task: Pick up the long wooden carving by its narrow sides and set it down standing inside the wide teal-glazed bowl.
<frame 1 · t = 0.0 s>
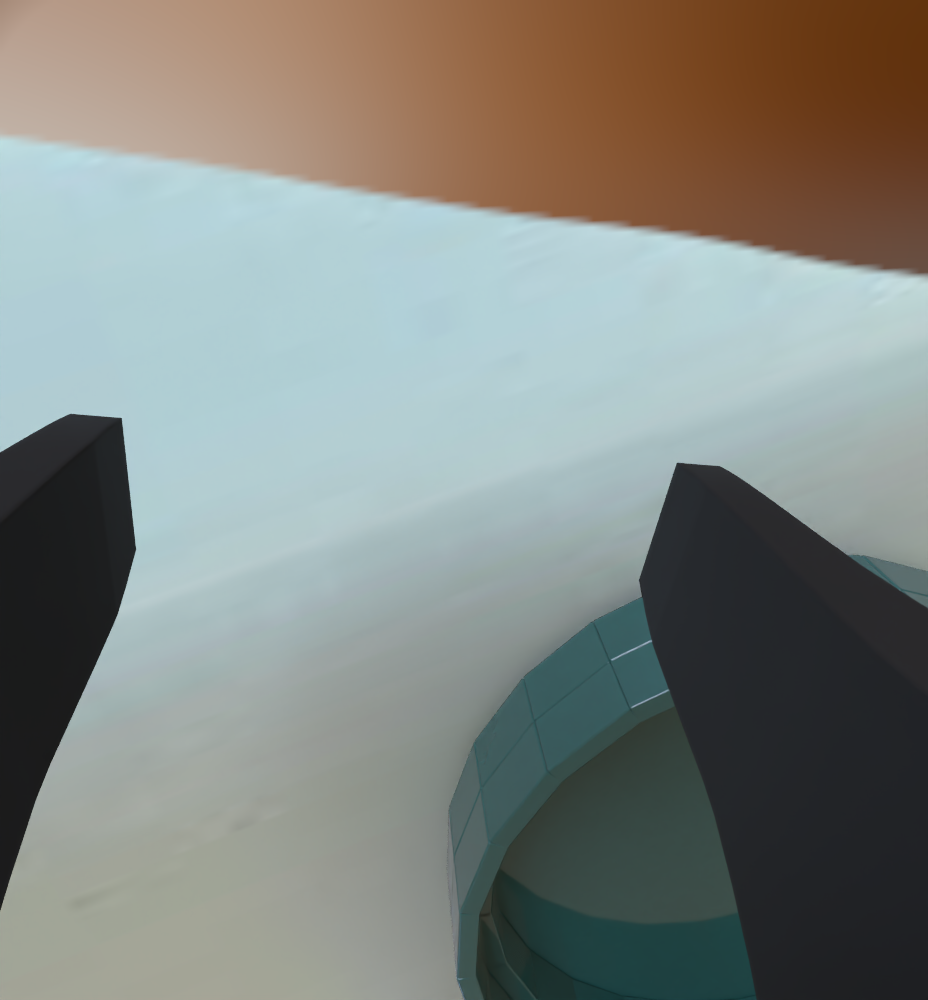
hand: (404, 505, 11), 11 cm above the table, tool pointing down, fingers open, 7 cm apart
teal bowl: (746, 812, 29), on the table
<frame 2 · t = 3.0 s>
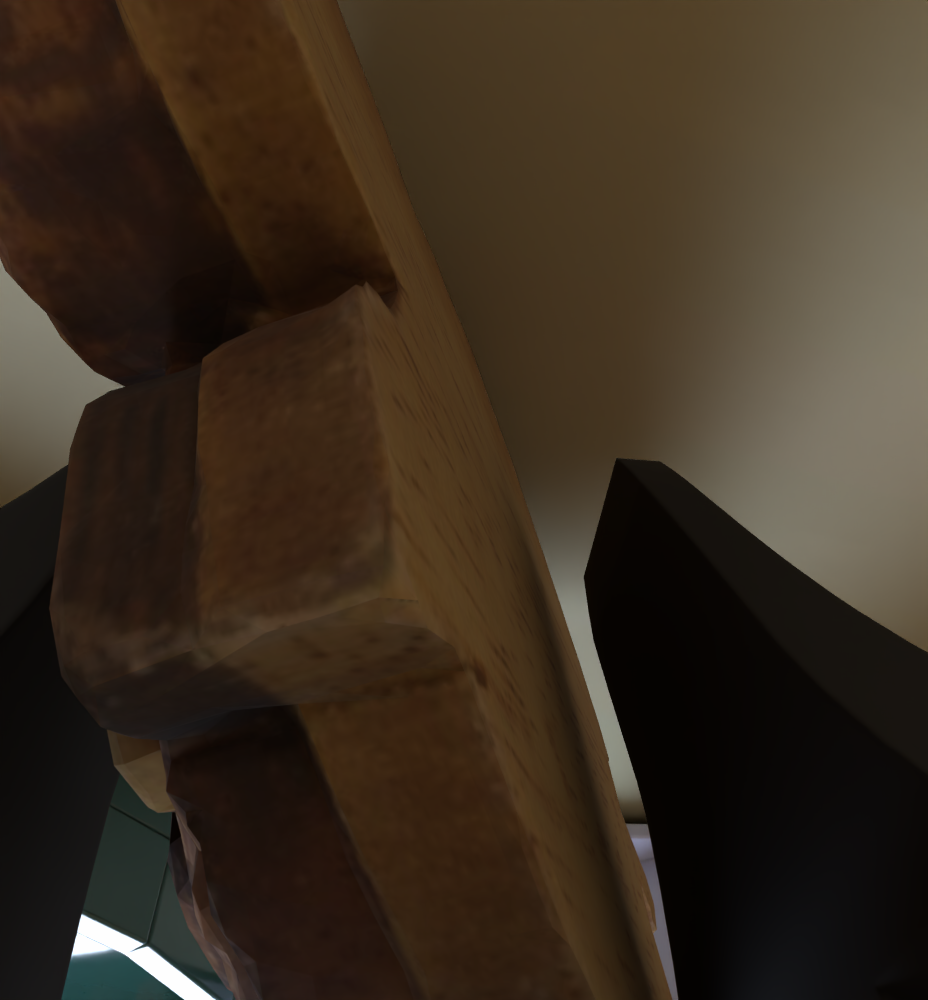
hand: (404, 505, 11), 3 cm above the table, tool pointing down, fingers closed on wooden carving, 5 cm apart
wooden carving: (432, 411, 14), on the table, touching gripper
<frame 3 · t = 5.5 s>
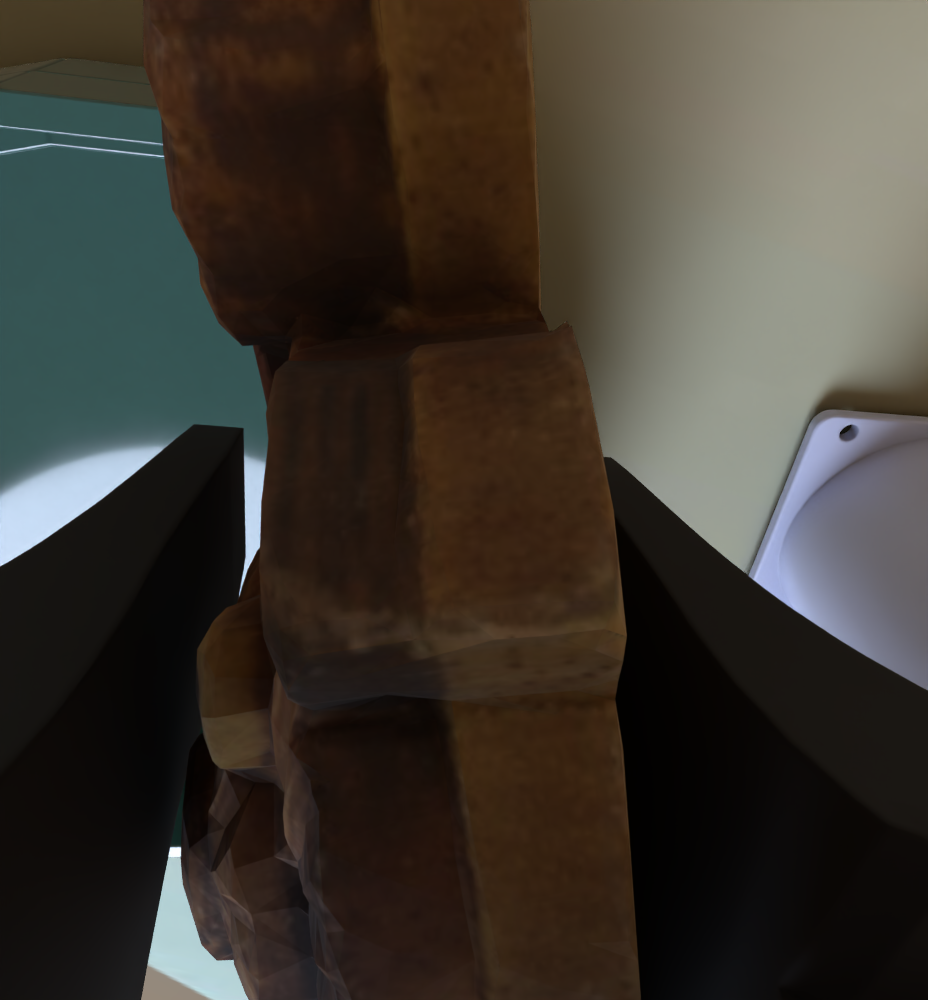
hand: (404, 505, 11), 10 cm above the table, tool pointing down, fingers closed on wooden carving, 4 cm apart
wooden carving: (450, 416, 14), point 7 cm above the table, touching gripper
teal bowl: (179, 485, 23), on the table
when the fingers open (4 cm above the table, at t = 8.2 s): wooden carving stays where it is, resting on teal bowl.
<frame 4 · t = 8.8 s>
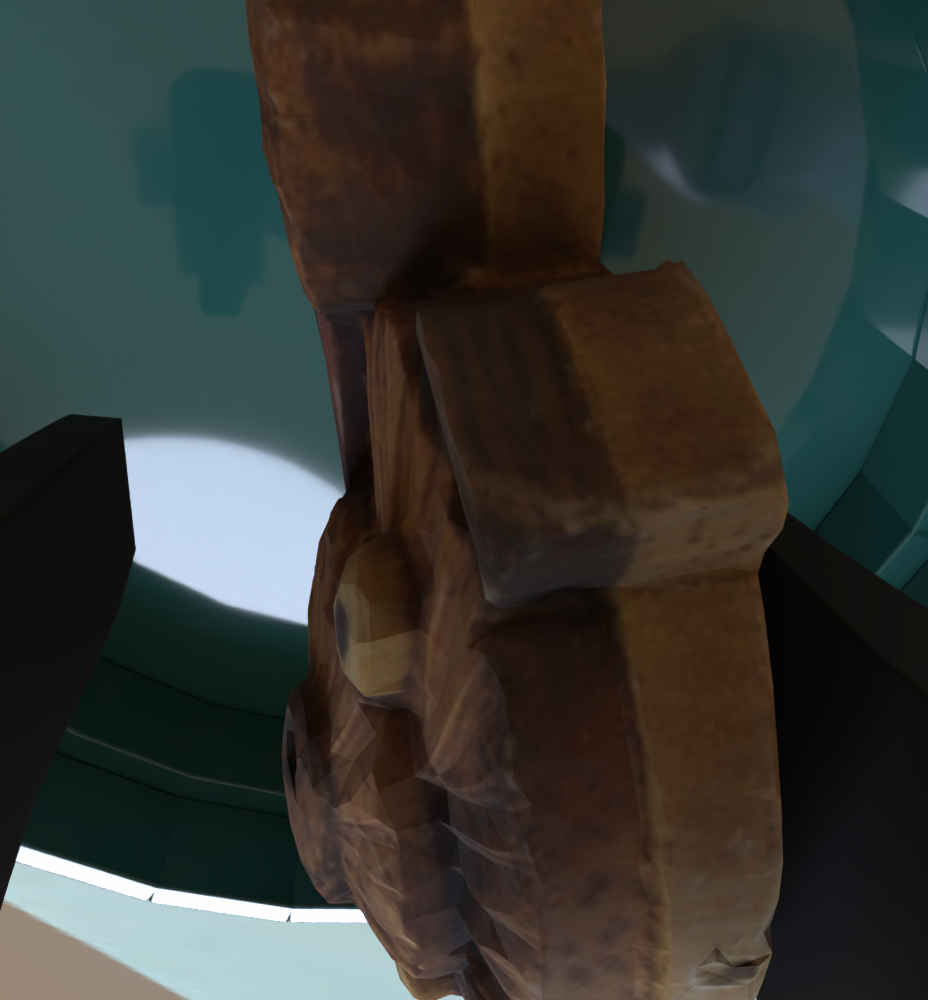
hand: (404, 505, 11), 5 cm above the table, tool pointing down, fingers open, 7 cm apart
wooden carving: (446, 394, 15), resting on teal bowl
teal bowl: (401, 360, 15), on the table
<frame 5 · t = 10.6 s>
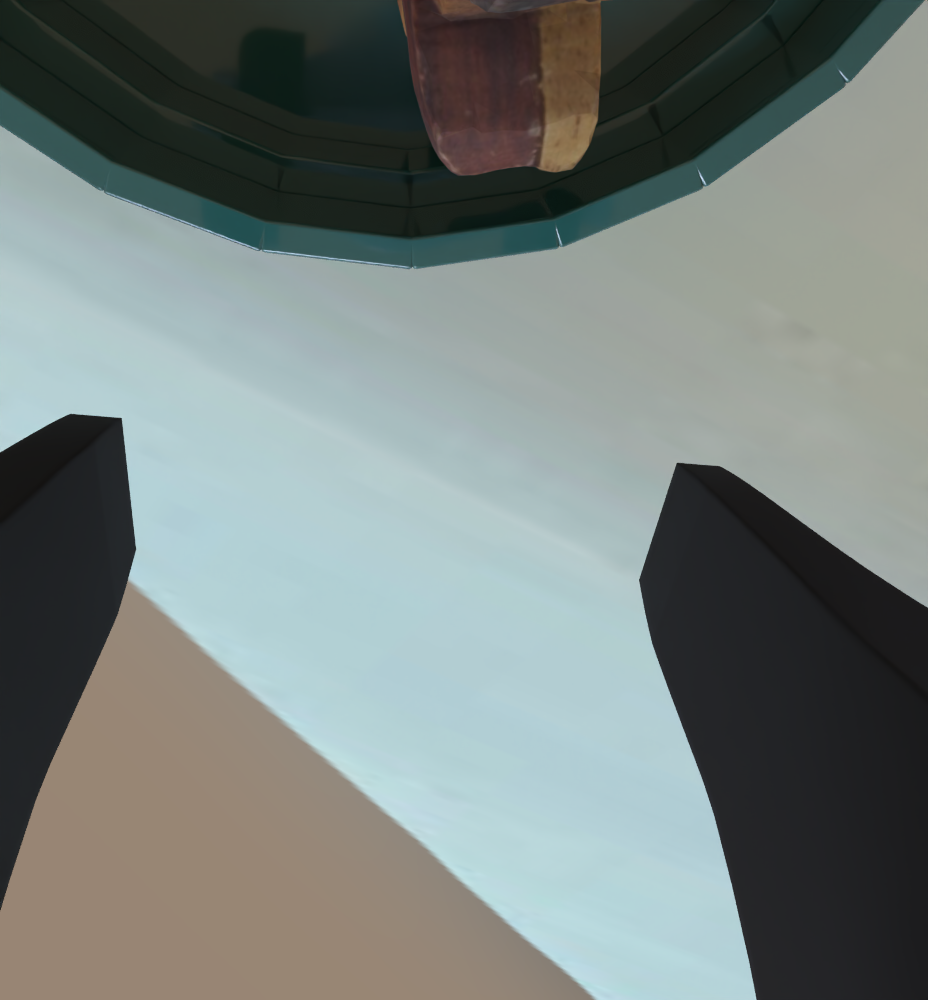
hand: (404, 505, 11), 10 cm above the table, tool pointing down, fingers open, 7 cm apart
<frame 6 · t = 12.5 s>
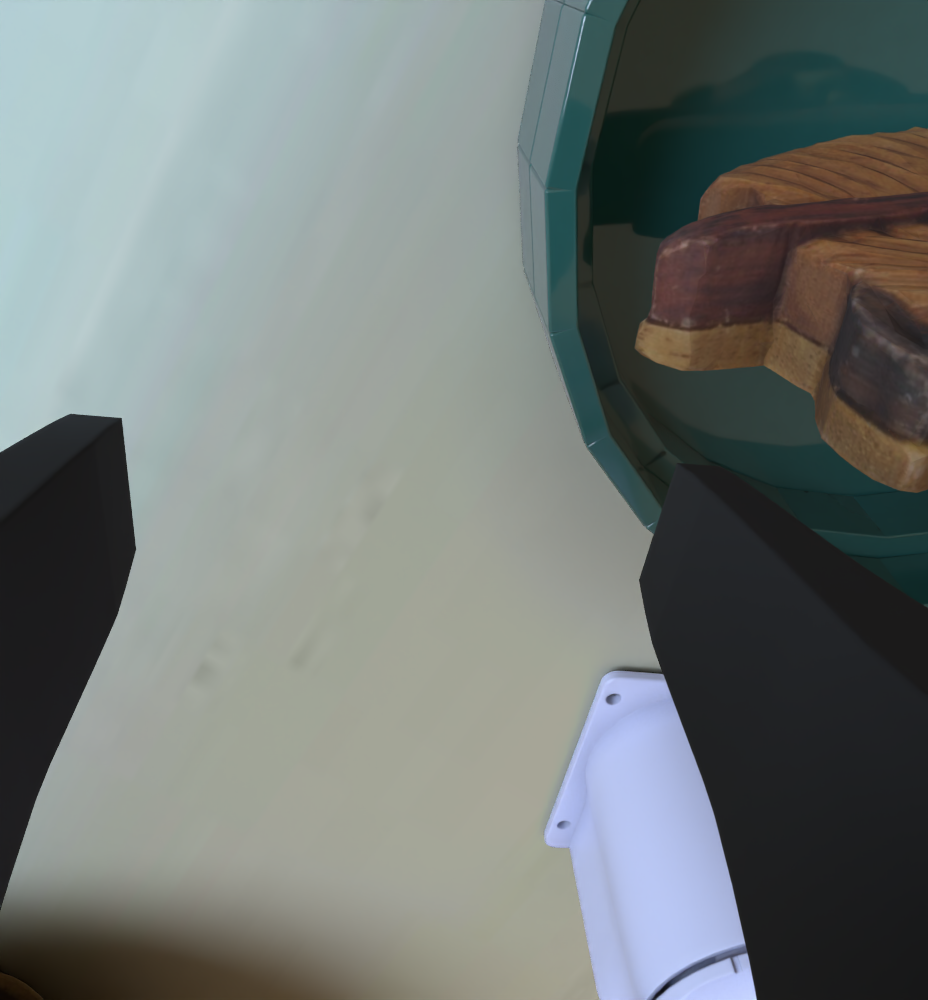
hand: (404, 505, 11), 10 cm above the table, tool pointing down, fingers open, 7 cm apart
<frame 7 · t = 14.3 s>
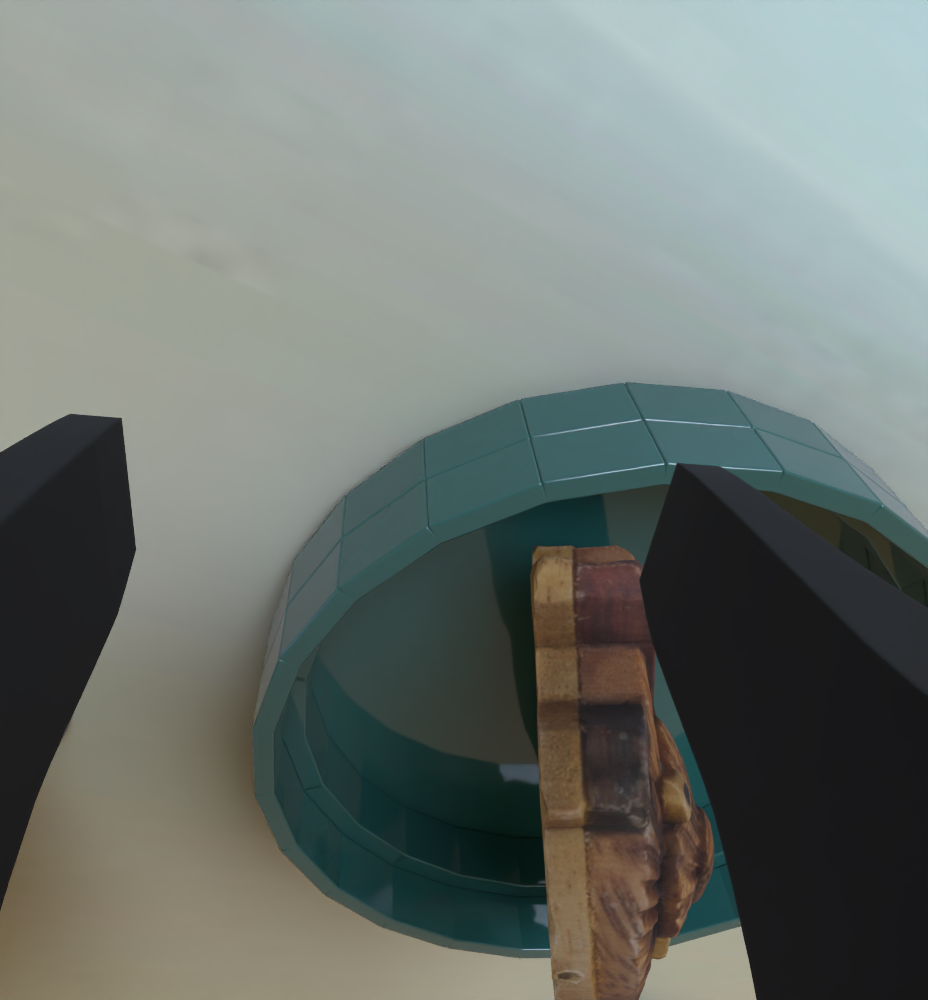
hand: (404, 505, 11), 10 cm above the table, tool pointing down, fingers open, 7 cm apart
wooden carving: (569, 655, 27), resting on teal bowl
teal bowl: (590, 659, 28), on the table
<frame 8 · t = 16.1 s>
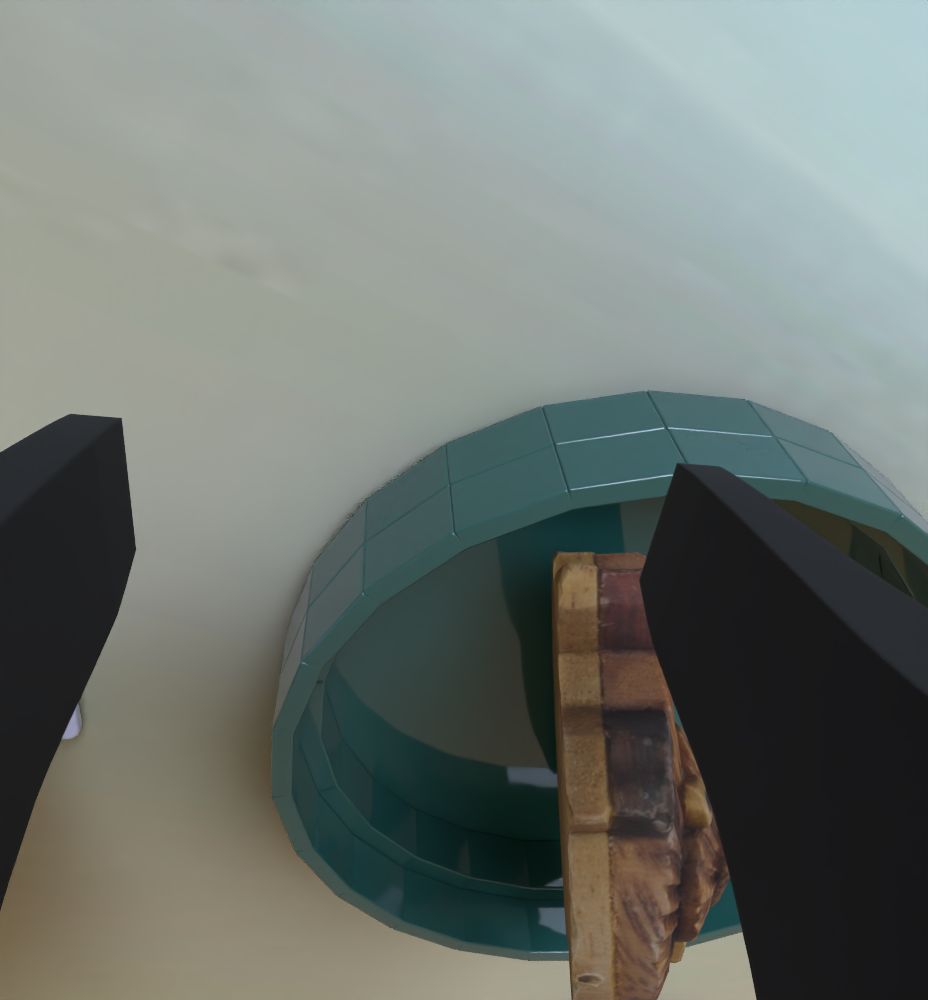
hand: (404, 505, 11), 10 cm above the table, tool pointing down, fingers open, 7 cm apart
wooden carving: (582, 659, 27), resting on teal bowl
teal bowl: (603, 664, 28), on the table
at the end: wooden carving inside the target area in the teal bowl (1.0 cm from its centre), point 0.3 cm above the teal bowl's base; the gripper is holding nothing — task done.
